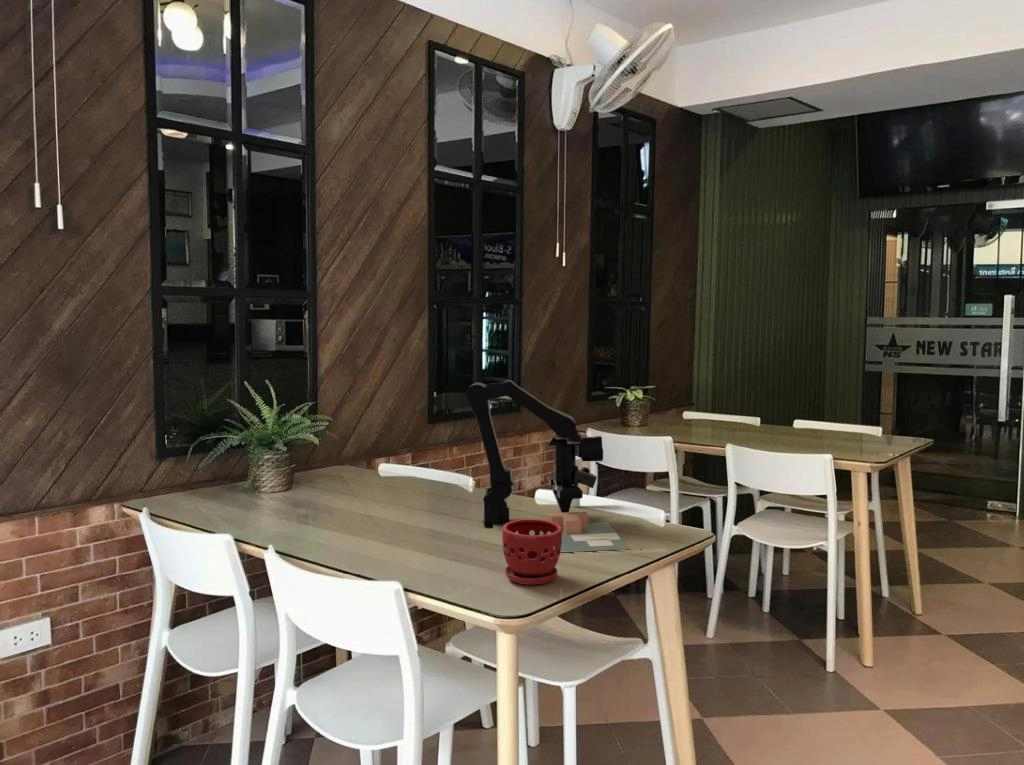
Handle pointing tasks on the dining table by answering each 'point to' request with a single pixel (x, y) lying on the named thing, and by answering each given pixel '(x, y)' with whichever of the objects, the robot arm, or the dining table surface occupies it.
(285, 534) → the dining table surface
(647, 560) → the dining table surface
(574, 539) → the board
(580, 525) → the salmon notched block
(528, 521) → the plant pot
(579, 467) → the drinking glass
